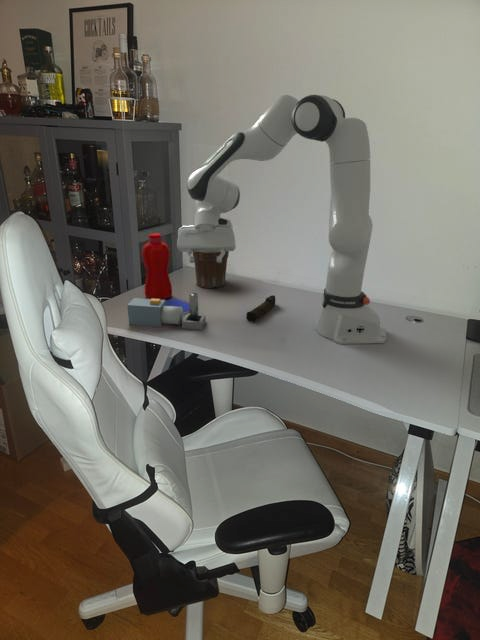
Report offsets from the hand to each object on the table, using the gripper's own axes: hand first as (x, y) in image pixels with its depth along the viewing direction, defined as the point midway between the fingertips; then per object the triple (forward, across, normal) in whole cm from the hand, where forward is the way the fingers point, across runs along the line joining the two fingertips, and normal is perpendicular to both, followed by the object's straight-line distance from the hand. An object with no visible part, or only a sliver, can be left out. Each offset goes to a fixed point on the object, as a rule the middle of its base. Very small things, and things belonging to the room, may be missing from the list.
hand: (205, 262), depth 139 cm
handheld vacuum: (+21, -12, +3) cm, 24 cm away
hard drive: (+12, -12, +15) cm, 23 cm away
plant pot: (-5, -5, +36) cm, 37 cm away
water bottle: (+6, -23, +21) cm, 32 cm away
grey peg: (+21, -3, +4) cm, 22 cm away
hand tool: (+14, +19, +16) cm, 28 cm away
